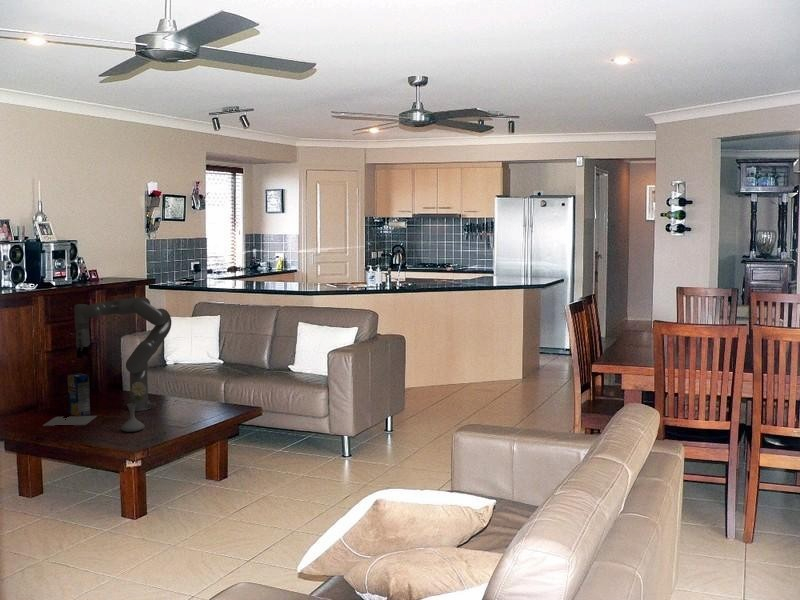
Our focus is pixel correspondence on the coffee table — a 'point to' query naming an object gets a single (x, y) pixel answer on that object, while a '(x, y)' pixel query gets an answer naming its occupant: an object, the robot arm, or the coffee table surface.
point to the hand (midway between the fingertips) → (82, 356)
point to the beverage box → (78, 394)
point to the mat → (70, 420)
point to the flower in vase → (133, 423)
